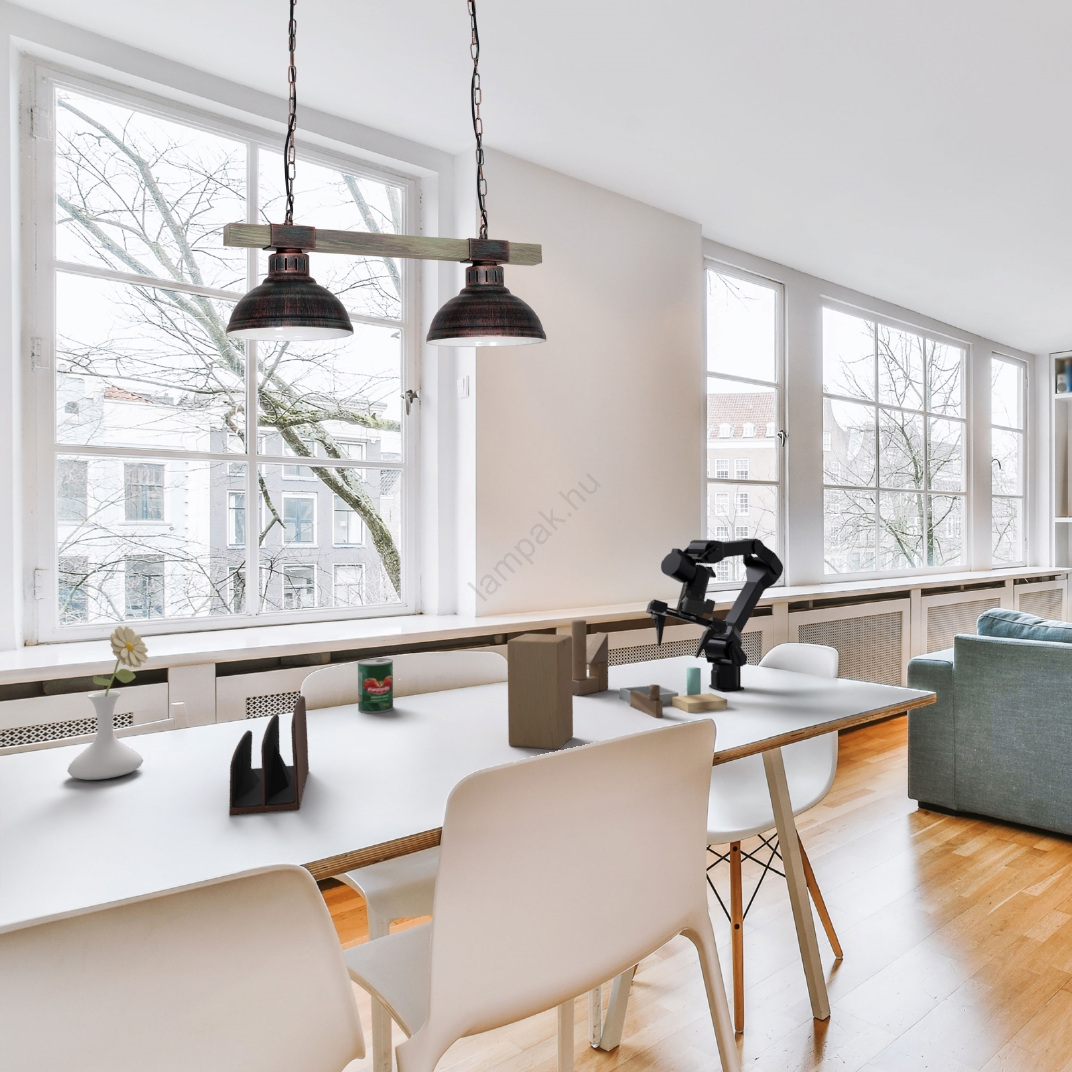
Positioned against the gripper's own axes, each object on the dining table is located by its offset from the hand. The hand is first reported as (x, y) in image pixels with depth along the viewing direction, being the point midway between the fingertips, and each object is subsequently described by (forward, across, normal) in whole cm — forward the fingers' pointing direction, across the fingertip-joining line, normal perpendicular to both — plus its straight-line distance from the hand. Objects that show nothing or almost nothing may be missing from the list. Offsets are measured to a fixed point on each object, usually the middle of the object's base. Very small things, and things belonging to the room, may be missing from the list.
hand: (677, 652), depth 193 cm
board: (+12, +7, -6) cm, 15 cm away
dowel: (+9, +7, +4) cm, 12 cm away
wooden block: (+29, -26, -31) cm, 50 cm away
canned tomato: (+33, -63, -2) cm, 71 cm away
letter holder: (+48, -66, -56) cm, 99 cm away
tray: (+13, -4, +1) cm, 13 cm away
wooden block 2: (+14, -16, +12) cm, 25 cm away
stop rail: (+16, -5, -9) cm, 19 cm away
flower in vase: (+55, -95, -46) cm, 119 cm away
